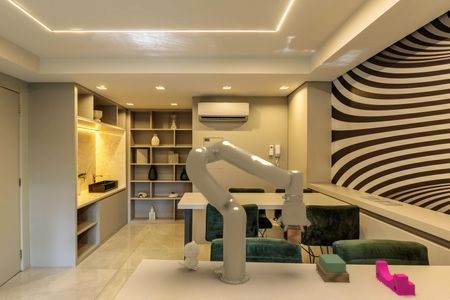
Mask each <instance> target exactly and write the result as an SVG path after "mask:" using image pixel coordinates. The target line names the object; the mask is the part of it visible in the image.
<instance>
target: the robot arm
mask: <svg viewBox="0 0 450 300" xmlns="http://www.w3.org/2000/svg"><path fill="white" fill-rule="evenodd" d="M219 161H223V162H225V163H228V164H230V165H232V166H234V167H235V168H237V169H239V170H241V171H242V172H244V173H246V174H249V175H252V176H255V177H256V178H258V179H260V180H263V181H265V182H266V183H268V184H270V185H271V186H273V187H276V188H278V189H285V190H284V191H285V192H284V195H281V199H284V200H283V203H282V208H281V216H279V218H278V219H277V220H275V223H276V224H277V225H278V226H279V227H280V228H281V230H282V231H283V239H284V240H285V242H287V228H288V227H289V226H290V227H299V228H300V230H301V242H302V240H303V239H304V232H305V231H306V230H307V229H308V227H310V226H311V225H312V223H311V221H310V220H309V219H308V218H307V208H306V202H305V201H304V172H303V170H299V169H288V170H287V169H286V170H285V169H283V168H281V167H279V166H277V165H275V164H273V163H271V162H270V161H267V160H266V159H263V158H262V157H260V156H259V155H257V154H254V153H253V152H250V151H249V150H247V149H245V148H243V147H241V146H239V145H237V144H236V143H234V142H232V141H230V140H227V139H222V140H220V141H217V142H214V143H210V144H206V145H202V146H201V145H200V146H195V147H193V148H192V149H191V150H189V153H188V154H187V158H186V161H185V162H186V163H185V171H186V174H187V177H188V179H189V180H190V182H191V183H192V185H193V186H194V187H195V188H196V189H197V190H198V192H199V193H200V194H201V195H202V196H203V197H204V198H205V200H206V201H207V202H208V203H209V204H210V205H211V206H212V207H214V208H215V209H216V210H217V211H218V212H219V213H220V215H222V217H223V229H222V230H223V233H222V243H223V248H222V249H223V252H222V255H223V257H222V259H223V261H222V263H223V264H222V266H213V267H212V272H214V273H215V274H218V275H219V279H220V280H221V282H223V283H225V284H229V285H242V284H244V283H247V282H248V281H249V280H250V274H249V272H248V271H246V268H247V267H246V263H247V262H246V260H247V259H246V255H247V252H246V249H247V247H246V243H247V242H246V238H247V237H246V232H247V213H246V210H245V208H244V207H243V206H242V205H241V203H240V202H239V200H237V199H236V197H234V196H233V194H231V192H230V191H229V190H228V189H227V188H226V187H225V186H224V185H223V184H222V183H220V182H219V181H218V180H217V179H216V178H215V177H214V176H213V174H212V173H211V172H210V171H209V169H208V168H207V165H208V164H211V163H212V164H213V163H216V162H219Z"/></svg>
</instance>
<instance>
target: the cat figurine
mask: <svg viewBox="0 0 450 300" xmlns="http://www.w3.org/2000/svg"><path fill="white" fill-rule="evenodd" d="M200 253H201V249H200V246H199V245H198V244H197V243H196V242H195V240H192V241H191V242H188V243H186V244H185V245H184V247H183V248H182V254H183V256H184V257H185V259H184V261H183V263H182V262H181V261H179V260H177V261H176V262H177V263H178V264H179V265H180V266H182V267H184V268H187V269H188V270H194V271H198V268H199V266H198V265H199V258H198V257H199V255H200ZM196 267H198V268H196Z"/></svg>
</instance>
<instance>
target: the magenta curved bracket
mask: <svg viewBox="0 0 450 300" xmlns="http://www.w3.org/2000/svg"><path fill="white" fill-rule="evenodd" d="M389 269H390V268H389V265H388V262H387V261H385V260H376V261H375V279H376V278H377V281H379V282H380V283H381V282H382V283H381V284H383V285H384V286H385V287H387V289H390V290H391V291H392V292H393V293H395V294H397V296H416V284H415V283H413V282H412V281H410V280H409V276H408V275H406V274H405V273H393V274H391V271H390V270H389Z"/></svg>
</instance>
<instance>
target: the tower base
mask: <svg viewBox="0 0 450 300" xmlns="http://www.w3.org/2000/svg"><path fill="white" fill-rule="evenodd" d="M315 263H316V265H315V266H316V267H315V271H316V272H317V271H318V272H317V274H320V275H319V276H320V277H322V278H321V279H322V281H323V282H324V283H350V273H349V272H348V271H347V270H346V273H326V271H325V270H324V269H323V268H322V266H321V265H320V264H319V261H316V262H315Z"/></svg>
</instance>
